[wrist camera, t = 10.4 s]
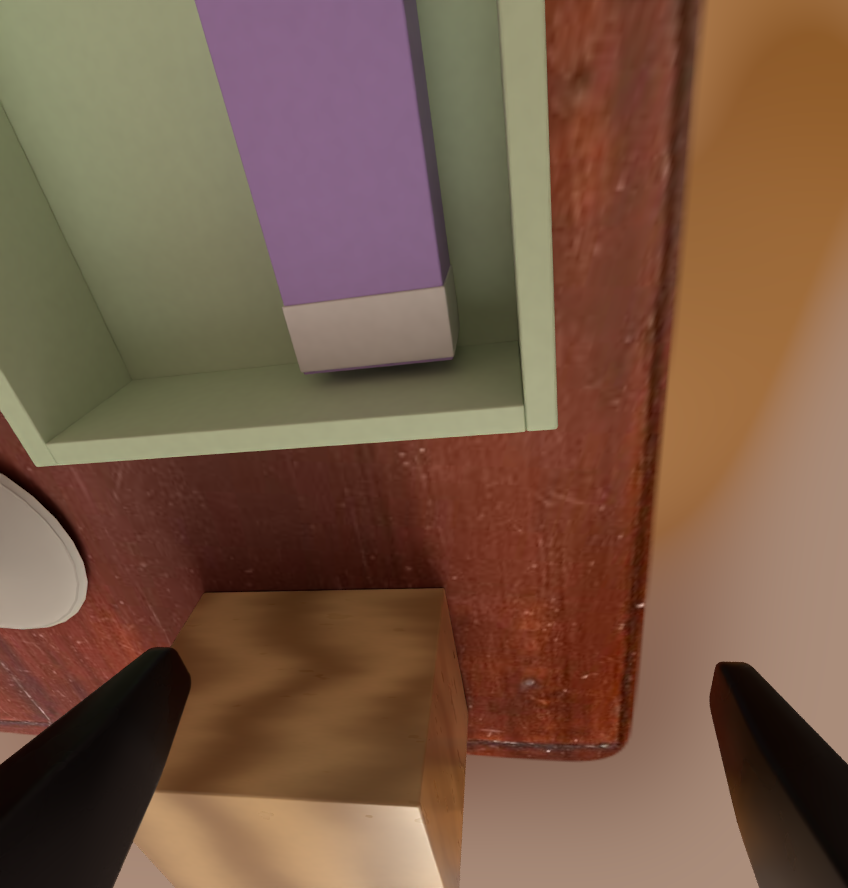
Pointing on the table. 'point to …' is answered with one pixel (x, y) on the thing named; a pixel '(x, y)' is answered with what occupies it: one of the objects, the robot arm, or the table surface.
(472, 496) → the table surface
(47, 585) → the chalice
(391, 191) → the chocolate bar
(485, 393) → the tray
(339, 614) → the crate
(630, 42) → the table surface
